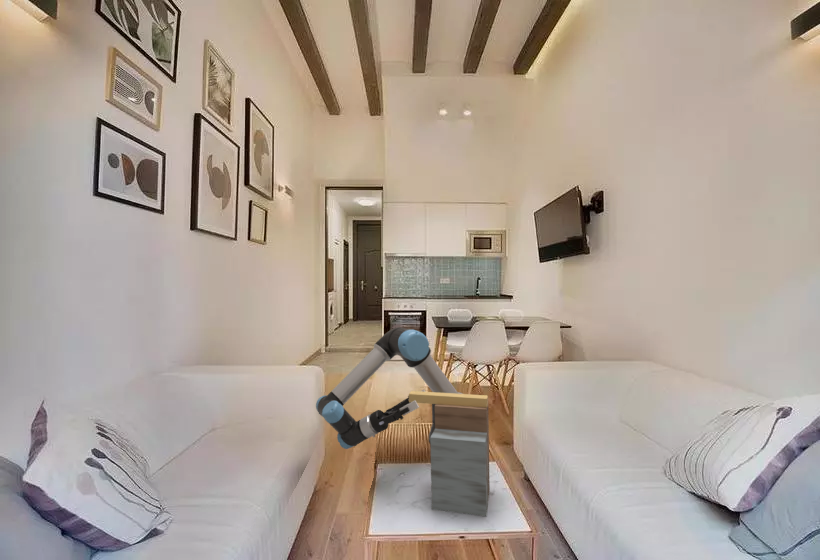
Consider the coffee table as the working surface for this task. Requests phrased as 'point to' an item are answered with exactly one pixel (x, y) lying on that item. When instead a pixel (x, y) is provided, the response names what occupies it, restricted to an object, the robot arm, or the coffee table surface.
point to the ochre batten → (449, 398)
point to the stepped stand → (460, 459)
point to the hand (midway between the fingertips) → (421, 398)
